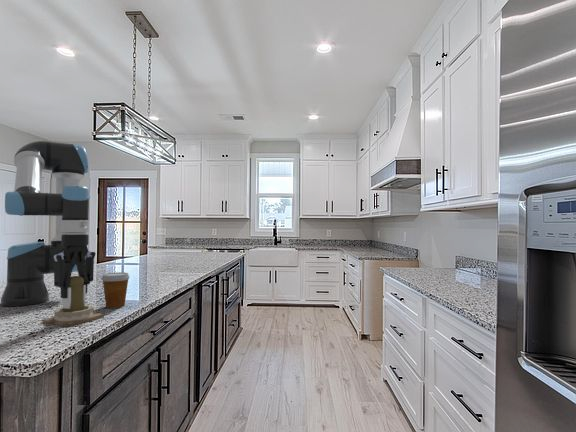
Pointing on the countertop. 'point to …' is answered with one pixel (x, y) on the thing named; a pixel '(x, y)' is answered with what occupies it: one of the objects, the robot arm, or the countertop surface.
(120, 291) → the disposable coffee cup
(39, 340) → the countertop surface
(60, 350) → the countertop surface
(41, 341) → the countertop surface
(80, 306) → the olive knobbed peg
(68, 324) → the collar base
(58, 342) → the countertop surface
